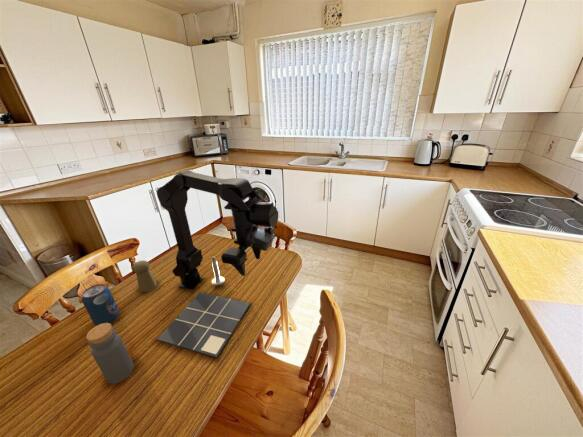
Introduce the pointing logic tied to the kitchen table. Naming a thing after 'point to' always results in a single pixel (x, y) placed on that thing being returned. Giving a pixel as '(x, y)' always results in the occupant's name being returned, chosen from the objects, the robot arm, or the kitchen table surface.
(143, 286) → the pepper shaker
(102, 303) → the soda can
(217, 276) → the screw
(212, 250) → the kitchen table surface
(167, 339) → the grid board
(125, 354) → the bottle
